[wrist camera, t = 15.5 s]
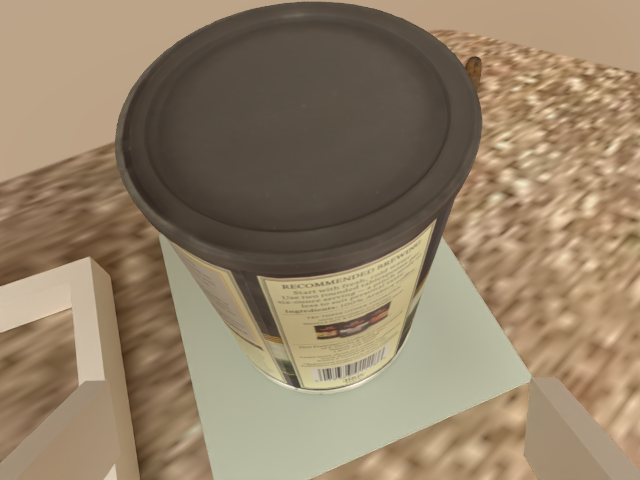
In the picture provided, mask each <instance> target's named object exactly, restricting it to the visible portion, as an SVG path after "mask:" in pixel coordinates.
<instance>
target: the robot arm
mask: <svg viewBox="0 0 640 480" xmlns="http://www.w3.org/2000/svg"><path fill="white" fill-rule="evenodd" d="M120 455H121V453H120V447H119V440H118V434H117V428H116V422H115V416H114V410H113V404H112V398H111V391H110V385H109V380H99V381H84V382H83V383H82V384H81V385H80V386H79V387H78V388H77V389H76V390H75V391H74V392H73V393H72V394H71V395H70V396H69V397H68V398H67V399H66V400H65V401H64V402H63V403H62V404H61V405H60V406H59V407H58V408H56V409H55V410H54V411H53V412H52V413H51V414H50V415H49V416H48V417H47V418H46V419H45V420H44V421H43V422H42V423H41V424H40V425H39V426H38V427H37V428H36V429H35V430H34V431H33V432H32V433H31V434H30V435H29V436H28V437H27V438H25V439H24V440H23V441H22V442H21V443H20V444H19V445H18V446H17V447H16V448H15V449H14V450H13V451H12V452H11V453H10V454H9V455H8V456H7V457H6V458H5V459H4V460H3V461H2V462H1V463H0V480H104V479H105V477H106V476H107V474H108V473H109V471H110V470H111V468H112V467H113V466H114V464H115V463H116V461H117V460H118V458H119V457H120ZM524 456H525V458H526V460H527V462H528V463H529V465H530V467H531V468H532V470H533V472H534V474H535V475H536V477H537V479H538V480H640V470H639V468H638V467H637V466H636V465H635V464H634V463H633V462H632V461H631V460H630V458H629V457H628V456H627V455H626V454H625V453H624V452H623V451H622V450H621V448H620V447H619V446H618V445H617V444H616V443H615V442H614V441H613V439H612V438H611V437H610V436H609V435H608V434H607V433H606V432H605V431H604V429H603V428H602V427H601V426H600V425H599V424H598V423H597V422H596V421H595V419H594V418H593V417H592V416H591V415H590V414H589V413H588V412H587V410H586V409H585V408H584V407H583V406H582V405H581V404H580V403H579V402H578V400H577V399H576V398H575V397H574V396H573V395H572V394H571V393H570V392H569V390H568V389H567V388H566V387H565V386H564V385H563V384H562V383H561V382H560V380H559V379H558V378H557V377H531V379H530V390H529V402H528V413H527V425H526V436H525V448H524Z"/></svg>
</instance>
